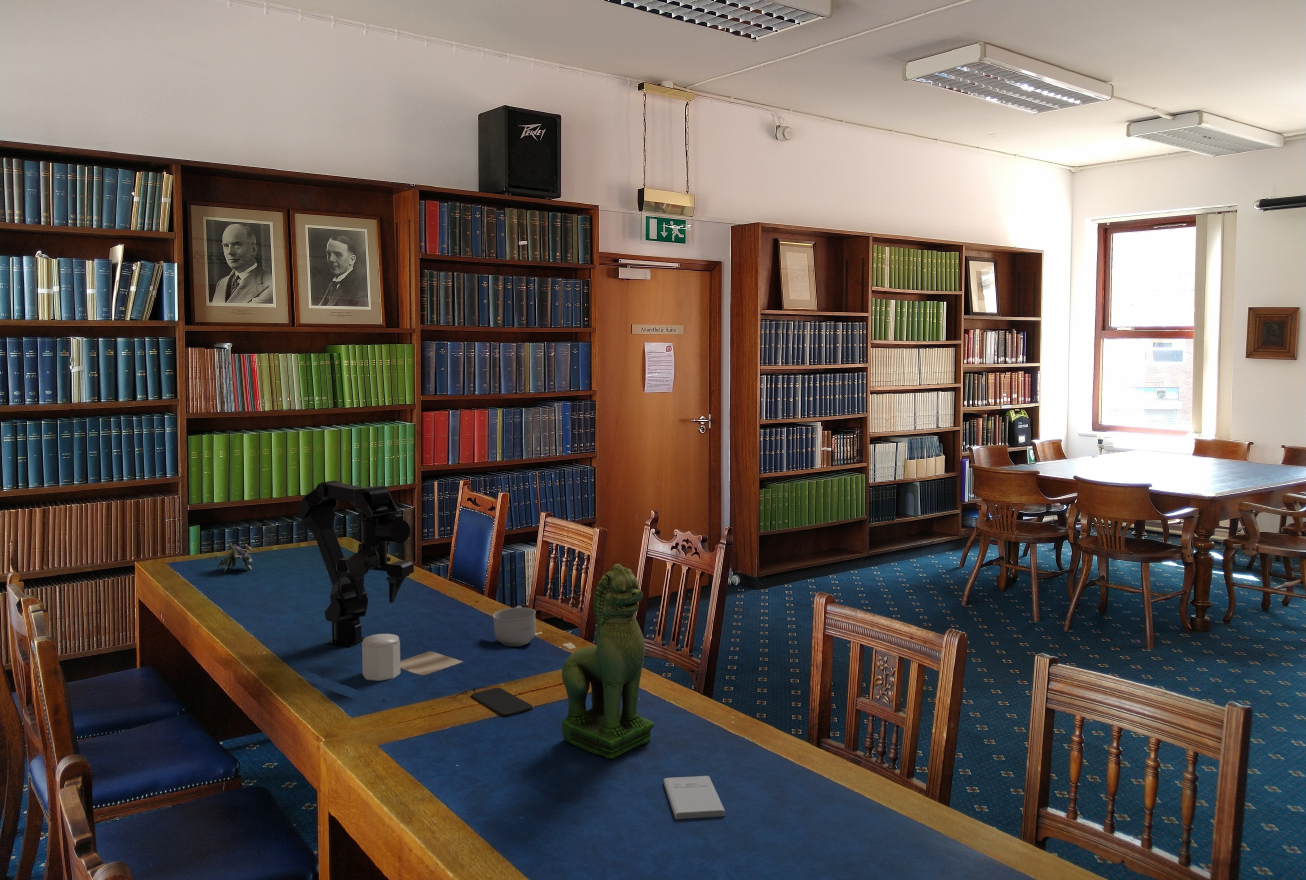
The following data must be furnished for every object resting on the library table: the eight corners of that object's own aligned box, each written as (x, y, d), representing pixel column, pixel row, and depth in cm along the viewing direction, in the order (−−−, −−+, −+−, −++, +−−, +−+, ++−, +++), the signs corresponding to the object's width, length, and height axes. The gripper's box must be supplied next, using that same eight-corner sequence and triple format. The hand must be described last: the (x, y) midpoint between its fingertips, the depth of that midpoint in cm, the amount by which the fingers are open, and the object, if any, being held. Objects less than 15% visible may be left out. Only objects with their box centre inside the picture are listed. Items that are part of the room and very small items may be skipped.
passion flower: (249, 585, 310) (261, 560, 306) (215, 585, 303) (227, 558, 298) (241, 561, 317) (254, 536, 312) (208, 560, 309) (220, 534, 305)
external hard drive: (675, 822, 149) (663, 786, 161) (725, 819, 150) (709, 783, 162) (675, 812, 149) (663, 777, 161) (725, 809, 150) (709, 774, 162)
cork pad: (389, 670, 215) (389, 664, 215) (430, 656, 225) (430, 650, 225) (422, 682, 208) (422, 675, 208) (463, 667, 218) (463, 661, 217)
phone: (499, 686, 205) (535, 706, 193) (499, 690, 205) (535, 710, 193) (468, 694, 200) (504, 715, 189) (468, 697, 200) (504, 719, 189)
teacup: (527, 651, 230) (527, 619, 229) (486, 648, 232) (486, 616, 231) (545, 634, 243) (545, 604, 243) (506, 631, 246) (506, 602, 245)
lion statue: (614, 764, 168) (615, 575, 164) (550, 739, 178) (550, 561, 175) (661, 740, 178) (663, 562, 175) (598, 718, 189) (599, 549, 185)
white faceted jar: (369, 689, 204) (368, 646, 203) (359, 678, 210) (358, 637, 209) (404, 682, 208) (403, 640, 207) (393, 672, 214) (393, 631, 213)
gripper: (320, 541, 220) (322, 605, 222) (387, 547, 214) (388, 613, 216) (350, 532, 231) (351, 594, 232) (414, 538, 225) (415, 601, 226)
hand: (375, 600), depth 227 cm, fingers open, 9 cm apart
